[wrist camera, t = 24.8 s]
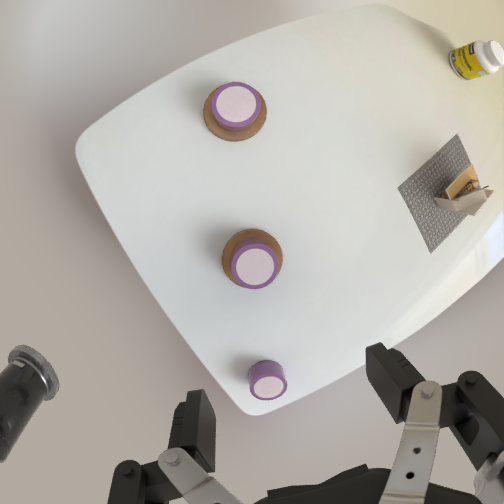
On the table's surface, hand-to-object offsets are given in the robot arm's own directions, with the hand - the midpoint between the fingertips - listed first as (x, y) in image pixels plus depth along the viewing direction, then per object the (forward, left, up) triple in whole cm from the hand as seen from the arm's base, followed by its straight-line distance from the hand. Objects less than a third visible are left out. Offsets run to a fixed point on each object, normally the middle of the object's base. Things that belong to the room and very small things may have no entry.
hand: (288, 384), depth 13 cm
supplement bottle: (+39, +22, -22) cm, 51 cm away
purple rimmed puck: (-2, -17, -22) cm, 28 cm away
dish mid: (0, 0, -22) cm, 22 cm away
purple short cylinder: (+2, +17, -22) cm, 28 cm away
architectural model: (+29, +2, -22) cm, 37 cm away
